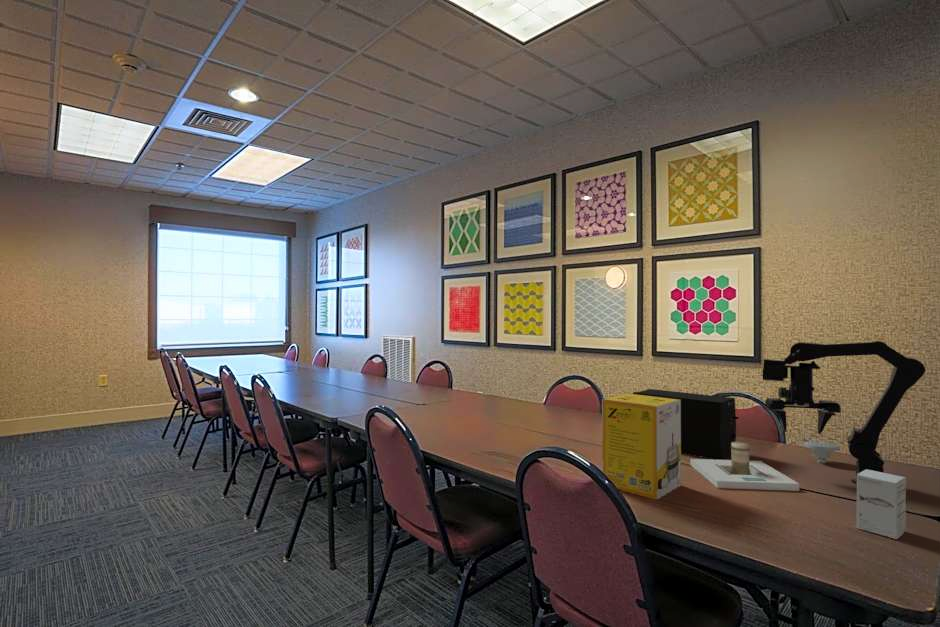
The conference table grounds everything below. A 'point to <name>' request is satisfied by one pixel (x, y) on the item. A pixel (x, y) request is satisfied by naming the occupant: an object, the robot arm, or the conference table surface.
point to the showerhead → (821, 449)
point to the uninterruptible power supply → (703, 422)
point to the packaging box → (642, 443)
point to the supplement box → (881, 503)
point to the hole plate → (759, 479)
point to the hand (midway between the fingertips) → (801, 432)
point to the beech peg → (739, 458)
